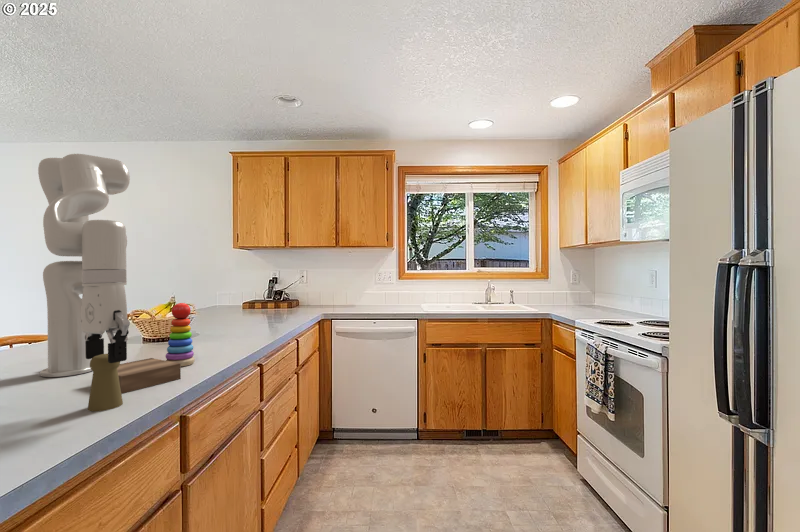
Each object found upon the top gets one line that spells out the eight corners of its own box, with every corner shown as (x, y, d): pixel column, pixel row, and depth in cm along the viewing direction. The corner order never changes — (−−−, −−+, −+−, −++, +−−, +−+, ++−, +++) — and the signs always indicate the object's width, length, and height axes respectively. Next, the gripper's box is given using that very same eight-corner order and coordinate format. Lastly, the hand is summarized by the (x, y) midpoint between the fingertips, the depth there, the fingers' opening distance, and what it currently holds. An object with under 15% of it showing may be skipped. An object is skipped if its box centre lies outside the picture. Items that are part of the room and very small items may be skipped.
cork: (120, 399, 88) (120, 350, 88) (125, 406, 83) (124, 354, 83) (86, 406, 84) (85, 354, 84) (88, 413, 79) (88, 359, 79)
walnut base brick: (93, 385, 99) (93, 369, 99) (151, 372, 111) (151, 357, 111) (121, 393, 92) (121, 376, 92) (180, 378, 104) (180, 363, 104)
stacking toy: (181, 368, 115) (181, 304, 115) (158, 367, 116) (157, 304, 117) (200, 362, 123) (200, 302, 123) (178, 361, 124) (178, 301, 124)
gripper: (65, 280, 85) (66, 359, 84) (104, 278, 76) (105, 367, 75) (105, 279, 91) (106, 353, 91) (145, 277, 82) (146, 359, 82)
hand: (105, 359), depth 83 cm, fingers open, 9 cm apart
